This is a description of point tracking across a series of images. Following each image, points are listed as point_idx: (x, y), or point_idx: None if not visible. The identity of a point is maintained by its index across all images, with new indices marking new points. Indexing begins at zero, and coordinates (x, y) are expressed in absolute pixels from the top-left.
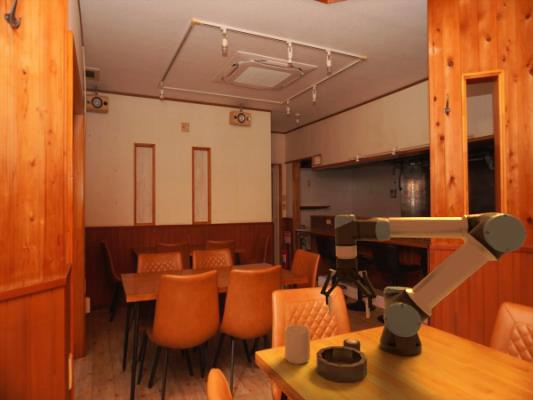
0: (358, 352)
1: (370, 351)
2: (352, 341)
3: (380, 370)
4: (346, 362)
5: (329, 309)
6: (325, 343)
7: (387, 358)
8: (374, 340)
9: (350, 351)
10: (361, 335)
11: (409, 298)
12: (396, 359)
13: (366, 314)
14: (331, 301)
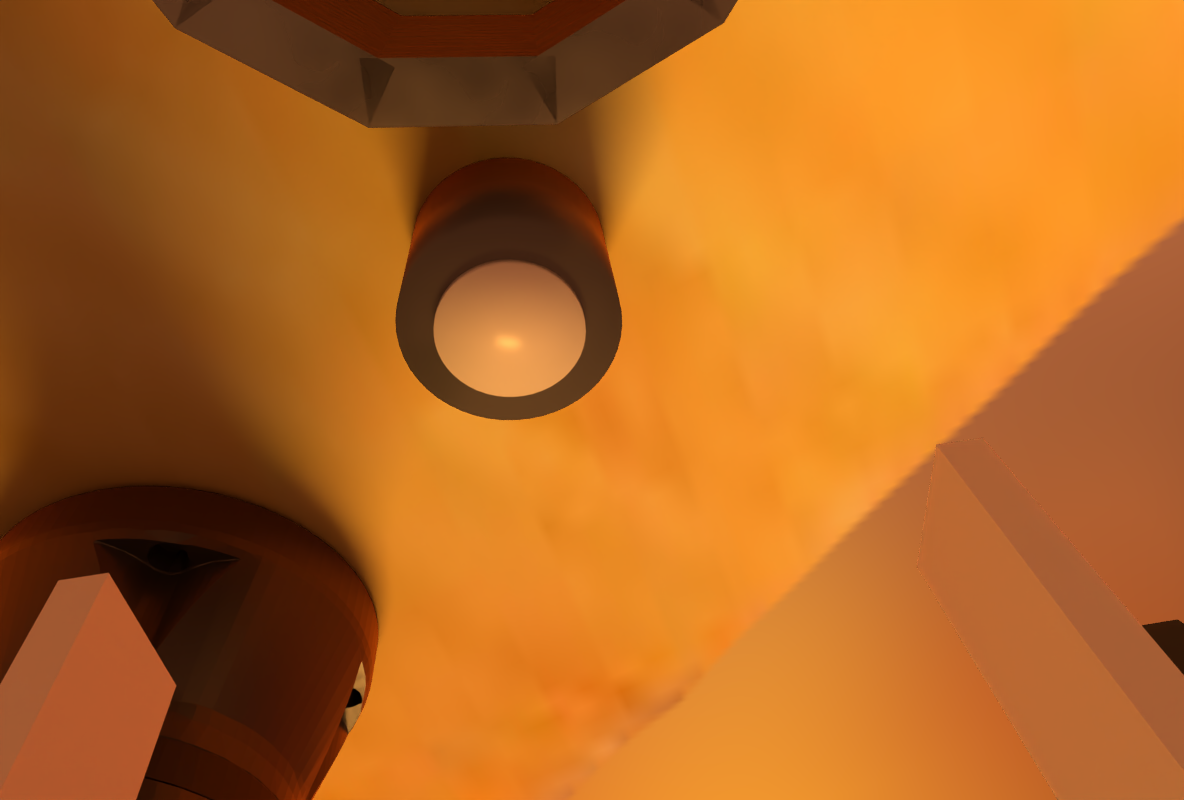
0: (251, 2)
1: (382, 435)
2: (496, 328)
3: (37, 29)
4: (485, 17)
5: (1027, 521)
6: (865, 388)
7: (158, 371)
8: (454, 646)
9: (414, 50)
10: (594, 678)
11: None
12: (73, 393)
13: (71, 642)
14: (1079, 766)
